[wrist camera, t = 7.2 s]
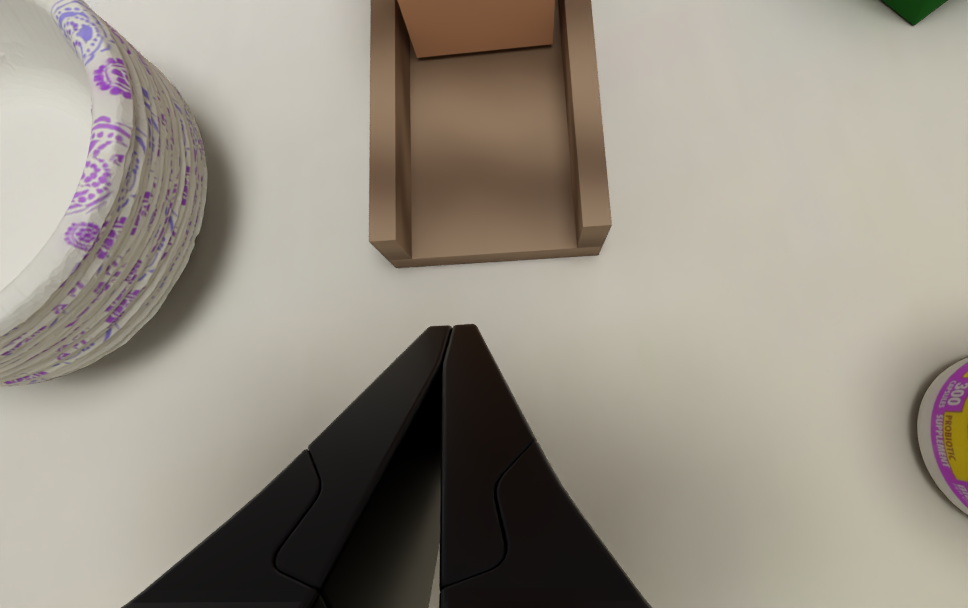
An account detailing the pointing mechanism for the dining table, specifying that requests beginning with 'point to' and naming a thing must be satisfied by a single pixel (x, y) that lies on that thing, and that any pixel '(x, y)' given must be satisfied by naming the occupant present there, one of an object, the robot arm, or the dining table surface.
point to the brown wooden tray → (486, 147)
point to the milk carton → (914, 8)
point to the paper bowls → (86, 189)
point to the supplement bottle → (947, 432)
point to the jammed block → (476, 25)
